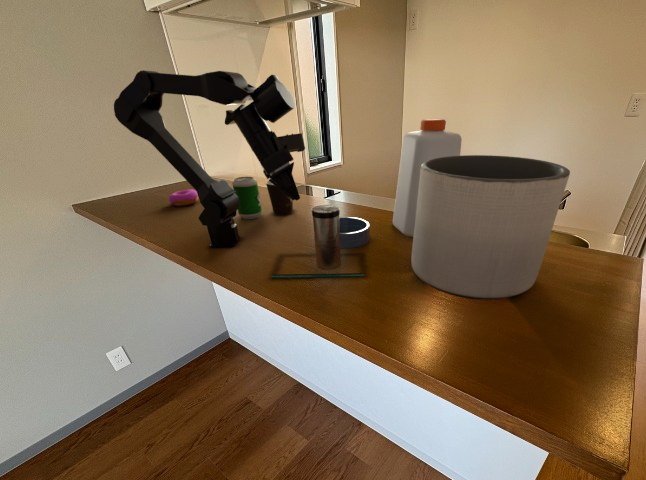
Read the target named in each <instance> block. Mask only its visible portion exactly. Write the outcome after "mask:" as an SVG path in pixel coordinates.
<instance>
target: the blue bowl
mask: <svg viewBox="0 0 646 480" xmlns="http://www.w3.org/2000/svg"><path fill="white" fill-rule="evenodd" d="M339 221H340V248H341V249H343V250H344V249H346V250H347V249H354V248H359V247H362V246H364V245H366V244H368V242H369V241H370V223H369V221H367V220H365V219H363V218H359V217H353V216H351V217H350V216H339Z"/></svg>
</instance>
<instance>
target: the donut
mask: <svg viewBox="0 0 646 480" xmlns="http://www.w3.org/2000/svg"><path fill="white" fill-rule="evenodd" d="M168 200H169V202H170V204H171V205H173V206H175V207H183V206H188V205H193V204H196V203H197V202H198V200H199V197H198V194H197V191H196V190H195V189H192V188H191V189H183V190H179V191H175V192H173V193H171V194H170V195H169V196H168Z"/></svg>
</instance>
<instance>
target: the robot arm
mask: <svg viewBox="0 0 646 480" xmlns="http://www.w3.org/2000/svg"><path fill="white" fill-rule="evenodd" d="M164 94H168V95H179V96H192V97H200V98H204V99H205V100H208V101H210V102H213V103H215V104H219V105H224V106H234V105H235V106H237V105H238V106H237V108H235V109H233V110H232V109H227V110H225V118H224V124H225V126H231V125H236V126H237V128H238V130H239V132H240V133H241V135H242V136H243V137H244V139H245V141H246V143H247V144H248V146H249V148H250V150H251V151H252V152H253V154H254V156H255V157H256V159H257V160H258V162H259V164H260V166H261V168H262V169H263V171H262V173H263V174H264V176H265V178H266V179H267V180H268V181H270V182H271V183H272V184H274V185H275V186H276V187H277V188H279V189H280V190H281V191H282V192H283V193H285V194H286V195H287V196H288V197H290V198H291V199H292V200H293V201H299V200H300V199H301V195H300V193H299V190H298V187H297V184H296V181H295V178H294V176H293V170H294V166H295V162H294V157H293V155H292V153H295V152H296V153H300V152H304V151H305V150H306V145H305V139H304V134H303V133H302V132H300V133H291V134H285V135H281V136H277V134H276V132H275V131H273V130H271V128H270V127H269V125H268V123H267V122H270V123H272V124H275V123H276V122H277V121H278V120H280V119H282V118H283V117H284V116H285V115H287V114H288V113H290V112H291V111H292V110H294V109H295V108H296V102H295V99H294V97H293V95H292V93H291V91H290V90H289V89H288V88H287V87H286V85H285V84H284V83H283V82H282V81H281V80H280V79H279V77H278V75H277V74H270V75H269V76H268V77H267V78H266V80H265V81H264V82H262V83H261V84H260V85H259V86H258V87H255V86H254V85H252V84H250V83H248V81H247V80H246V79H245V77H244V75H242V74H241V73H239V72H234V71H227V70H226V71H225V70H216V71H210V72H205V73H201V74H197V75H191V74H176V73H163V72H158V71H154V70H143V69H142V70H140V71H137V73H136V74H135V76H134V78H133V80H132V81H131V82H130V83H129V84H128V85H127V86H126V87H125V88H124V89H122V91H121V92H120V93H119V95H118V97H117V98H116V99H115V100H114V102H113V113H114V116H115V118H116V120H117V121H118V122H119V123H120V124H121V125H122V126H123V127H124V128H126V129H127V130H128V131H129V132H131V133H132V134H133V135H136V136H137V137H139V138H142V139H144V140H146V141H147V142H149V143H150V145H152V146H153V147H154V148H155V149H156V150H157V152H158V153H159V154H161V156H163V157H164V159H166V161H167V162H168V163H169V164H170V165H171V166H172V167H173V168H174V169H175V170H176V171H177V172H178V173H179V174H180V176H181V177H183V179H184V180H185V181H186V182H187V183H188V184H189V186H191V187H192V188H193V190H195V191H196V192H197V194H198V200H199V203H200V204H201V206H202V207H203V210H202V211H201V213H200V214H199V216H198V220H199V221H200V223H201V225H202V226H203V227H204V226H205V227H206V229H207V232H208V236H209V239H210V243H209V244H208V247H209V248H232V247H235V246H236V244H237V243H238V242H239V241H240V239H241V236H240V233H239V229H238V225H237V224H236V223H235V219H234V218H235V217H236V216H237V212H238V208H239V198H238V196H237V195H236V194H235V193H236V191H235V190H234V189H233V187H231V185H230V184H229V183H228V181H227V180H226V179H221V180H220V179H219V180H216V179H214V178H212V176H210V175H209V173H207V172H206V170H205V169H204V168H203V167H202V166H201V165H200V164H199V163H198V161H196V160H195V158H193V156H192V155H191V154H190V153H189V152H188V151H187V150H186V148H184V147H183V146H182V144H181V143H180V142H179V141H178V140H177V139H176V138H175V136H173V135H172V134H171V133H170V131H169V130H168V129H167V128H166V124H165V122H164V117H163V116H162V114H161V113H160V110H161V108H162V107H163V97H164ZM248 101H250V102H249V104H245V103H246V102H248Z"/></svg>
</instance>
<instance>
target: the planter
mask: <svg viewBox="0 0 646 480" xmlns="http://www.w3.org/2000/svg"><path fill="white" fill-rule="evenodd" d="M570 174H571V171H570V169H569V168H568V167H566V166H563V165H561V164H558V163H555V162H551V161H548V160H547V161H546V160H541V159H536V158H527V157H519V156H510V155H509V156H508V155H486V154H482V155H481V154H471V155H470V154H469V155H467V154H466V155H465V154H464V155H460V156H449V157H441V158H435V159H431V160H428V161H425V162H424V163H422V165H421V171H420V181H419V191H418V201H417V210H416V219H415V228H414V237H412V238H413V239H412V248H411V256H410V257H411V259H410V260H411V261H410V262H411V269H412V271H413V273H414V274H415V276H416V277H417V278H418V279H419V280H421V281H422V282H423V283H425V284H426V285H428V286H429V287H431V288H433V289H435V290H437V291H439V292H442V293H445V294H447V295H450V296H454V297H457V298H463V299H469V300H477V301H478V300H480V301H481V300H482V301H483V300H484V301H495V300H496V301H497V300H502V299H508V298H513V297H516V296H519V295H522V294H523V293H525V292H527V291H529V290H530V289H531V288H532V287H533V286H534V284H535V282H536V281H537V278H538V276H539V272H540V270H541V266H542V263H543V260H544V257H545V254H546V250H547V247H548V244H549V242H550V237H551V234H552V231H553V228H554V225H555V222H556V218H557V216H558V212H559V209H560V206H561V202H562V200H563V197H564V193H565V190H566V188H567V184H568V181H569V178H570Z"/></svg>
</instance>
